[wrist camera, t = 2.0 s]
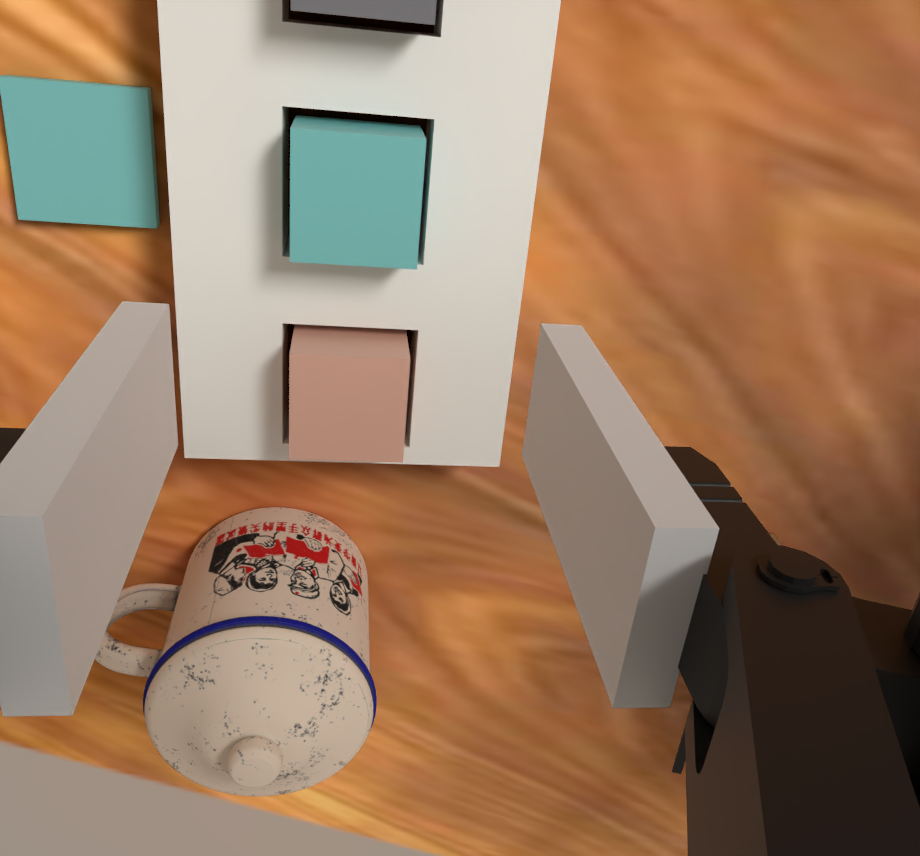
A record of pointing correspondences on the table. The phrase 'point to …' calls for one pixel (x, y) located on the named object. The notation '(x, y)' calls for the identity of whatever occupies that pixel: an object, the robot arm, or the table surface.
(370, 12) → the charcoal button
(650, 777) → the table surface
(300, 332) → the terracotta button
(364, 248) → the teal button
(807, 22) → the table surface
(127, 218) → the tile
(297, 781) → the teacup with lid
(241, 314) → the button board
